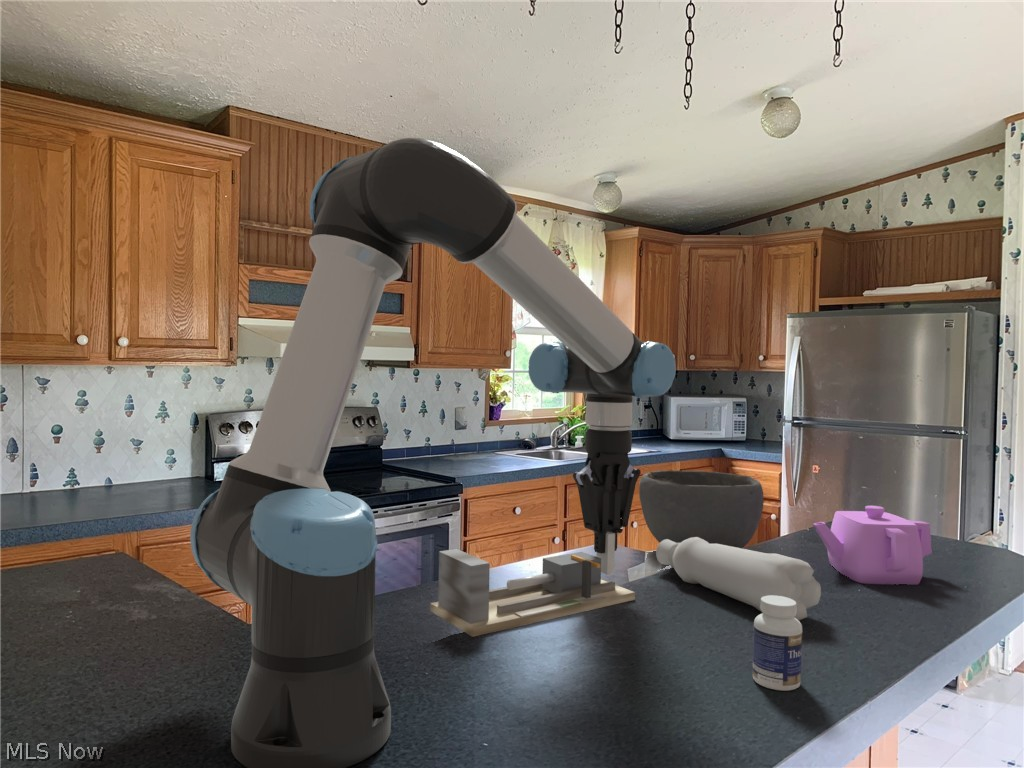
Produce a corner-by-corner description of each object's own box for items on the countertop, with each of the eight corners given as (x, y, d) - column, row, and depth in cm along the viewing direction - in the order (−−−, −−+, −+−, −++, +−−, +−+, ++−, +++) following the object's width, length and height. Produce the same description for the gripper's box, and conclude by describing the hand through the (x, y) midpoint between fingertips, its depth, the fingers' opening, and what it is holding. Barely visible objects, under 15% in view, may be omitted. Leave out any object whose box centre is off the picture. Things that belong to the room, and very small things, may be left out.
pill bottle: (795, 696, 83) (798, 611, 83) (747, 684, 86) (749, 602, 86) (804, 679, 88) (807, 598, 88) (758, 669, 91) (760, 590, 90)
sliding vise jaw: (617, 595, 114) (618, 560, 114) (534, 613, 105) (535, 576, 105) (581, 580, 121) (581, 548, 121) (500, 596, 112) (500, 561, 112)
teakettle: (908, 594, 122) (910, 520, 122) (806, 572, 134) (808, 505, 134) (938, 575, 134) (940, 507, 134) (842, 556, 146) (844, 494, 146)
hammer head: (590, 597, 112) (591, 562, 111) (586, 598, 111) (587, 562, 111) (585, 595, 113) (586, 560, 112) (581, 596, 112) (582, 560, 112)
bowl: (654, 531, 165) (656, 464, 164) (769, 545, 154) (771, 473, 154) (621, 556, 143) (623, 479, 142) (752, 574, 132) (754, 491, 132)
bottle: (833, 595, 110) (692, 554, 136) (810, 548, 108) (671, 516, 134) (798, 638, 106) (660, 587, 132) (774, 590, 104) (638, 548, 130)
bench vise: (634, 599, 117) (636, 542, 116) (472, 636, 99) (474, 569, 99) (585, 580, 126) (586, 527, 126) (430, 611, 109) (431, 549, 109)
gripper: (622, 424, 127) (618, 561, 128) (562, 427, 120) (559, 571, 120) (653, 428, 121) (650, 571, 121) (593, 431, 113) (589, 583, 114)
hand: (605, 571), depth 121 cm, fingers closed
